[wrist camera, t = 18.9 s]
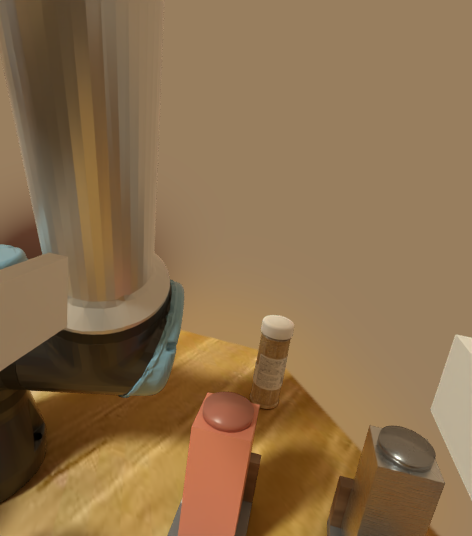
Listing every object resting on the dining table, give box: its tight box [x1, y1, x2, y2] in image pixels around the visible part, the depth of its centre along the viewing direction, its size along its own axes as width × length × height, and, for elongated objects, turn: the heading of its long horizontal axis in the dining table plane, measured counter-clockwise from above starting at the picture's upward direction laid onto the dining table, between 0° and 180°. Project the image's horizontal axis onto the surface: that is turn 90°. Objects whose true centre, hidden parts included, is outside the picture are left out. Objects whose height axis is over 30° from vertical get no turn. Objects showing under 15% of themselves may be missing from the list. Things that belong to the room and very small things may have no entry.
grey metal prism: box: [341, 425, 445, 536], centre depth 34 cm, size 5×5×13 cm
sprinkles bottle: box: [250, 315, 294, 409], centre depth 58 cm, size 5×5×14 cm
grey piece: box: [168, 453, 261, 536], centre depth 35 cm, size 14×7×6 cm, turn 169°
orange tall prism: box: [178, 392, 260, 536], centre depth 36 cm, size 5×5×13 cm
